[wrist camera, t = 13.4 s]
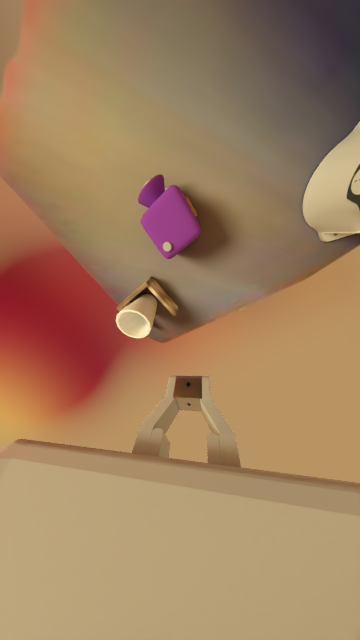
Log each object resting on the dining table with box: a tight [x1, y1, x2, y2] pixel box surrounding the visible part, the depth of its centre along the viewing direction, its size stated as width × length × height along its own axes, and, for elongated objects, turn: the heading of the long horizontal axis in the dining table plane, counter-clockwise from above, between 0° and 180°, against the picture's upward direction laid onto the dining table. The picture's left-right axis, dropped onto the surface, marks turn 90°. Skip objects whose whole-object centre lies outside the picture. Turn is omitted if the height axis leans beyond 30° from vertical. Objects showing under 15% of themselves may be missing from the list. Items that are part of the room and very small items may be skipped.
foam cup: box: [116, 294, 157, 338], centre depth 41 cm, size 10×9×13 cm
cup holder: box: [116, 277, 178, 316], centre depth 44 cm, size 13×14×6 cm
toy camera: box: [138, 175, 201, 259], centre depth 29 cm, size 11×14×10 cm
